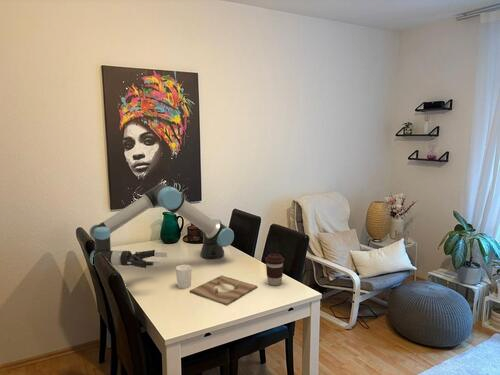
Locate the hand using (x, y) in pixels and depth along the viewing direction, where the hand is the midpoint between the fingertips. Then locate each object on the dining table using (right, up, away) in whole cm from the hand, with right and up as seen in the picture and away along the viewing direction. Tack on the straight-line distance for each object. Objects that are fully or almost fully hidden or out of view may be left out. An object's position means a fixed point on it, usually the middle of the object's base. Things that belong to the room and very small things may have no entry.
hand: (163, 258), depth 190 cm
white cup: (+10, -15, +2) cm, 18 cm away
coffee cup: (+57, -14, +5) cm, 59 cm away
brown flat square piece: (+31, -15, -3) cm, 35 cm away
